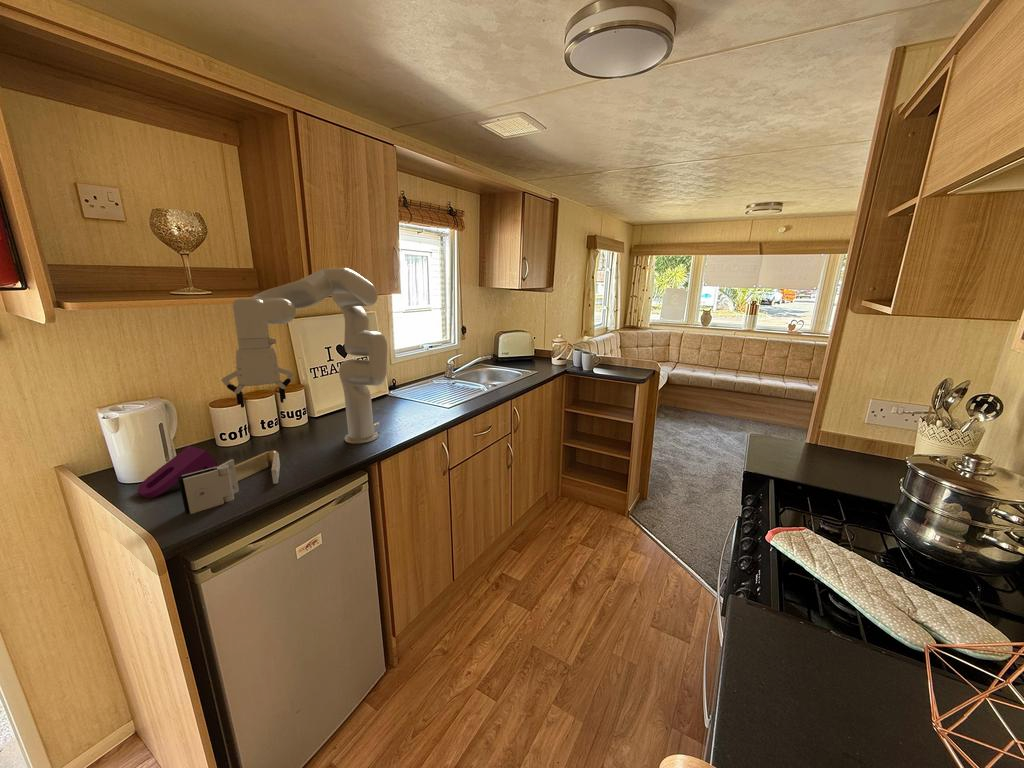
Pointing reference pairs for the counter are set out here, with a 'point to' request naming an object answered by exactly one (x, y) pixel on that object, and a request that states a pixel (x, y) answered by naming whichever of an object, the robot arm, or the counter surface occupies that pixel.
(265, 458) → the fixed leaf
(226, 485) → the hinge
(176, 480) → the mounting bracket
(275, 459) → the open leaf
